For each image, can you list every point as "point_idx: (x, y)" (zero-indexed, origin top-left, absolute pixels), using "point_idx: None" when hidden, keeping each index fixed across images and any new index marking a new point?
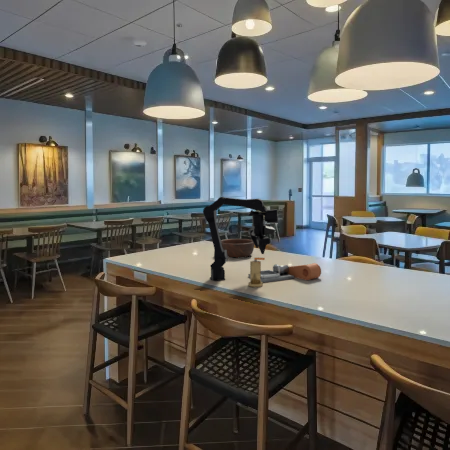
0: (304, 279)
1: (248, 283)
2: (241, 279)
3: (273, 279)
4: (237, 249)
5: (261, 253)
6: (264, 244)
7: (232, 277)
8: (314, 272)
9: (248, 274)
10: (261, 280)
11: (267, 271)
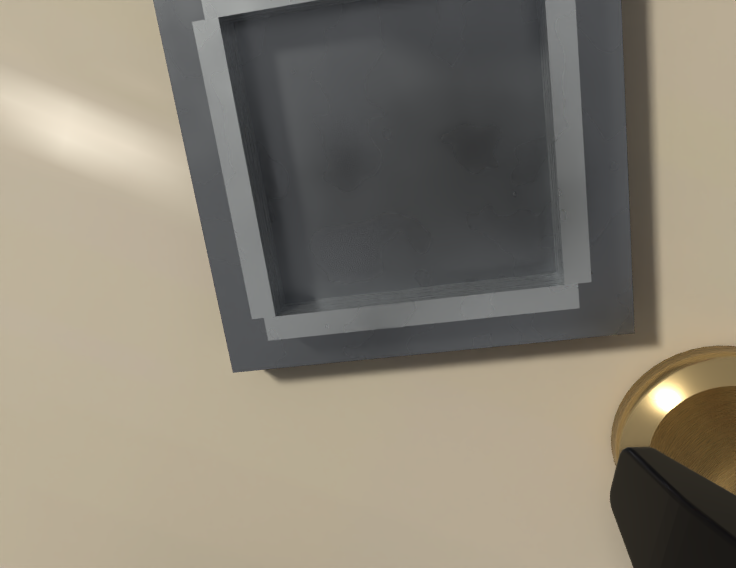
0: None
1: None
2: (347, 482)
3: (619, 111)
4: None
5: (630, 528)
6: None
7: (214, 541)
8: None
9: (235, 370)
10: (632, 327)
11: (231, 56)
